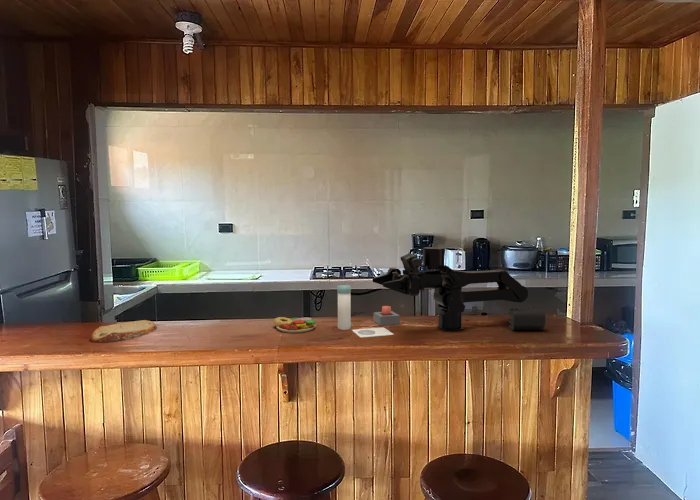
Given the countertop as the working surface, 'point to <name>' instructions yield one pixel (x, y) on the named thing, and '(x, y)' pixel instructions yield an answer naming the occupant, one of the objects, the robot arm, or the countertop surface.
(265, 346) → the countertop surface
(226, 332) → the countertop surface
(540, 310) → the end cap
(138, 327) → the slice of bread
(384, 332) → the paper
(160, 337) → the countertop surface
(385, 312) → the button
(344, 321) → the teal and white bottle
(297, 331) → the toy food set
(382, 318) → the button housing
